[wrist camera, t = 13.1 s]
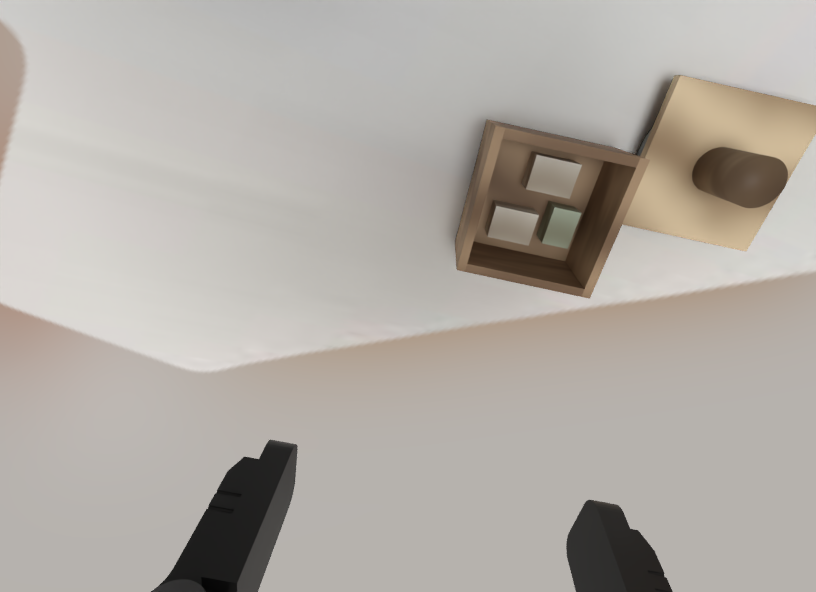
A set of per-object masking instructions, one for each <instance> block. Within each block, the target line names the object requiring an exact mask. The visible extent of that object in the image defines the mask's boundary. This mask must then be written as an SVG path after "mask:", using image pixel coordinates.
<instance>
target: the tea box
mask: <svg viewBox="0 0 816 592" xmlns="http://www.w3.org/2000/svg"><path fill="white" fill-rule="evenodd" d="M649 161H650V160H649V159H646V158H643V157H640V156H637V155H634V154H631V153H629V152H626V151H623V150H620V149H617V148H614V147H609V146H605V145H600V144H595V143H591V142H586V141H582V140H577V139H573V138H568V137H564V136H559V135H555V134H550V133H546V132H541V131H537V130H532V129H528V128H523V127H519V126H514V125H510V124H505V123H501V122H496V121H491V120H487V121H486V125H485V129H484V133H483V137H482V140H481V144H480V148H479V152H478V156H477V160H476V163H475V167H474V171H473V175H472V179H471V183H470V186H469V190H468V194H467V198H466V202H465V206H464V209H463V213H462V217H461V221H460V225H459V229H458V232H457V236H456V240H455V252H456V267H457V270H460V271H464V272H469V273H474V274H478V275H483V276H488V277H492V278H497V279H502V280H506V281H511V282H516V283H520V284H525V285H529V286H534V287H539V288H543V289H548V290H553V291H557V292H562V293H567V294H571V295H576V296H581V297H585V298H590V297H591V294H592V292H593V290H594V287H595V285H596V283H597V280H598V278H599V276H600V274H601V271H602V269H603V267H604V264H605V262H606V260H607V258H608V255H609V253H610V251H611V248H612V246H613V244H614V242H615V239H616V237H617V235H618V232H619V230H620V228H621V226H622V223H623V221H624V219H625V216H626V214H627V212H628V209H629V207H630V205H631V203H632V200H633V198H634V196H635V193H636V191H637V189H638V187H639V184H640V182H641V180H642V177H643V175H644V173H645V171H646V168H647V166H648V164H649Z"/></svg>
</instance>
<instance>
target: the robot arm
mask: <svg viewBox="0 0 816 592" xmlns="http://www.w3.org/2000/svg"><path fill="white" fill-rule="evenodd" d="M296 460H297V445H296V444H290V443H286V442H280V441H275V440H269V441H268V443H267V444H266V446H265V448H264V450H263V452H262V454H261V456H260V459H254V458H249V457H244V458H243V459H241V460H240V461H239V462H238V463H237V464H236V465H234V466H233V467H232V468H231V469H230V470H229V471H228V472H227V474H226V475H225V477H224V479H223V481H222V482H221V484H220V486H219V488H218V490H217V493H216V494H215V495H214V497H213V499H212V500H211V502H210V504H209V507H208V509H206V511H205V513H204V515H203V516H202V518H201V520H200V522H199V524H198V526H197V527H196V529H195V531H194V533H193V534H192V536H191V538H190V540H189V541H188V543H187V545H186V547H185V549H184V550H183V552H182V554H181V556H180V558H179V560H178V561H177V563H176V565H175V566H174V568H173V570H172V571H171V573H170V574H169V575H168V577H167V578H166V579H165V580H164V581H163V582H162V583H161V584H160V585H159V586H158V587H157V588H155V589H154V590H153V591H151V592H258V589H259V587H260V584H261V581H262V578H263V576H264V573H265V570H266V568H267V565H268V562H269V559H270V557H271V554H272V551H273V549H274V545H275V543H276V540H277V538H278V535H279V532H280V530H281V527H282V524H283V521H284V519H285V516H286V513H287V510H288V508H289V505H290V502H291V498H292V495H293V490H294V484H295V473H296ZM567 558H568V562H569V566H570V570H571V573H572V578H573V581H574V585H575V589H576V592H672V589H671V587H670V585H669V583H668V580H667V578H665V577H664V572H663V569H662V567H661V565H660V562H659V560H658V558H657V556H656V554H655V551H654V550H653V549H652V547H651V546H650V545H649V544H648V542H647V541H646V540H645V539H644V537H643V536H642V535H641V533H640V532H639V531H638V530H633V529H630V527H629V525H628V523H627V520H626V518H625V515H624V513H623V511H622V509H621V508H620V507H619V506H618V505H615V504H610V503H605V502H599V501H594V500H588V501H586V503H585V504H584V506H583V508H582V510H581V512H580V513H579V515H578V517H577V519H576V521H575V523H574V525H573V526H572V528H571V530H570V532H569V534H568V538H567Z"/></svg>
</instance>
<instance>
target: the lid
mask: <svg viewBox="0 0 816 592" xmlns="http://www.w3.org/2000/svg"><path fill="white" fill-rule="evenodd" d="M815 134H816V106H815V105H810V104H806V103H801V102H797V101H793V100H788V99H784V98H779V97H775V96H770V95H766V94H762V93H757V92H753V91H748V90H744V89H739V88H735V87H730V86H726V85H722V84H717V83H713V82H708V81H704V80H699V79H695V78H691V77H686V76H682V75H676V76H674V78H673V80H672V83H671V85H670V87H669V90H668V92H667V94H666V97H665V99H664V101H663V104H662V106H661V108H660V111H659V113H658V115H657V118H656V120H655V122H654V125H653V127H652V130H651V132H650V134H649V137H648V139H647V141H646V144H645V146H644V148H643V151H642V153H641V155H640V157H643V158H646V159H649V160H650V161H649V164H648V166H647V168H646V171H645V173H644V175H643V177H642V180H641V182H640V184H639V187H638V189H637V191H636V193H635V196H634V198H633V200H632V203H631V205H630V207H629V209H628V212H627V214H626V216H625V219H624V221H623V223H622V224H623V225H628V226H632V227H637V228H641V229H646V230H650V231H655V232H660V233H664V234H669V235H673V236H678V237H682V238H687V239H691V240H696V241H701V242H705V243H710V244H714V245H719V246H723V247H728V248H732V249H737V250H742V251H747V249H748V247H749V246H750V244H751V242H752V241H753V239H754V237H755V235H756V234H757V232H758V230H759V229H760V227H761V225H762V224H763V222H764V220H765V219H766V217H767V215H768V213H769V212H770V210H771V208H772V207H773V205H774V203H775V202H776V200H777V198H778V196H779V195H780V193H781V192H782V190H783V189H784V187H785V185H786V183H787V181H788V180H789V178H790V176H791V174H792V173H793V171H794V169H795V168H796V166H797V164H798V163H799V161H800V159H801V157H802V156H803V154H804V152H805V151H806V149H807V147H808V146H809V144H810V142H811V141H812V139H813V137H814V135H815Z"/></svg>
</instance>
